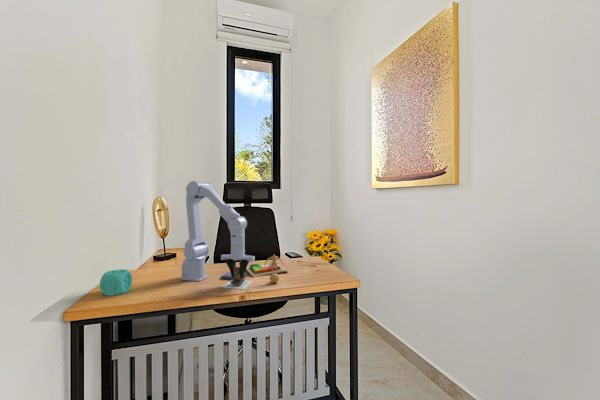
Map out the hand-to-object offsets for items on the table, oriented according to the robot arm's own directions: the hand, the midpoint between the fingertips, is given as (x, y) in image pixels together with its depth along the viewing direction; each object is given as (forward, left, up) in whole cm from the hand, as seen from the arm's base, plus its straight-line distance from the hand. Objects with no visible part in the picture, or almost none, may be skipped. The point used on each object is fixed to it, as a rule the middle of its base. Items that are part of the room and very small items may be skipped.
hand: (237, 277), depth 119 cm
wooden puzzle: (+4, +24, -4) cm, 25 cm away
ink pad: (-6, +9, -3) cm, 11 cm away
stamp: (0, 0, -2) cm, 2 cm away
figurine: (+14, +7, -3) cm, 16 cm away
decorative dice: (-42, -19, -3) cm, 46 cm away
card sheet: (0, 0, -3) cm, 3 cm away
